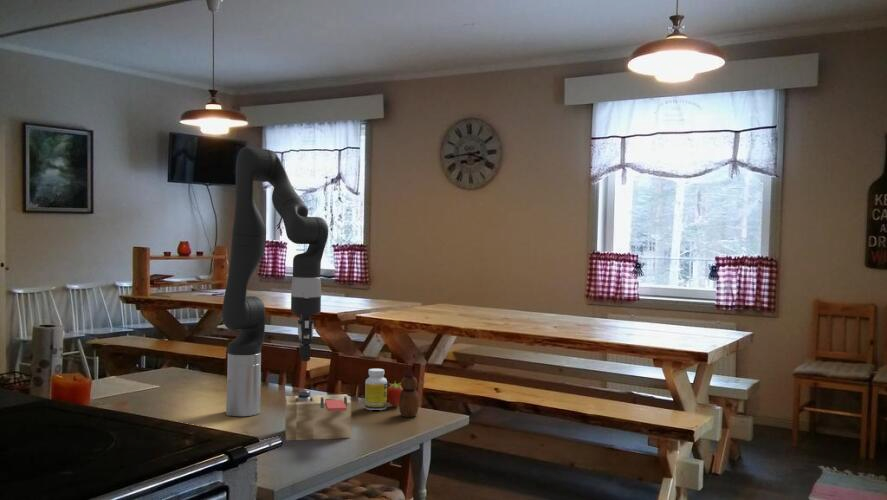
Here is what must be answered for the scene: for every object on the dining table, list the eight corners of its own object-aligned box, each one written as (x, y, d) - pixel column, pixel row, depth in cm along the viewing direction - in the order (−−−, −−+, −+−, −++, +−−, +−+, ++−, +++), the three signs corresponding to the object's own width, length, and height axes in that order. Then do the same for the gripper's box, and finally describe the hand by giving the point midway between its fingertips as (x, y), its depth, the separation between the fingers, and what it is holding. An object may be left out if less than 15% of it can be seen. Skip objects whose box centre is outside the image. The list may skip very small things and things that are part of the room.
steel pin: (297, 436, 193) (298, 392, 193) (297, 433, 196) (297, 390, 196) (310, 436, 194) (310, 392, 194) (309, 433, 197) (310, 389, 197)
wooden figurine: (398, 413, 221) (399, 361, 221) (418, 413, 222) (419, 361, 221) (398, 418, 215) (399, 365, 214) (419, 418, 215) (420, 365, 215)
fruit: (396, 409, 226) (396, 382, 226) (382, 407, 228) (382, 380, 228) (406, 406, 230) (407, 379, 230) (392, 403, 233) (393, 377, 233)
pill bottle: (383, 412, 222) (384, 372, 222) (362, 410, 223) (362, 371, 223) (389, 407, 229) (390, 368, 228) (368, 405, 230) (369, 367, 230)
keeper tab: (328, 411, 182) (328, 407, 182) (324, 402, 191) (324, 398, 191) (346, 411, 183) (346, 407, 183) (342, 402, 192) (342, 398, 192)
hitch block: (286, 442, 188) (287, 399, 188) (285, 430, 199) (285, 389, 199) (351, 439, 192) (352, 397, 192) (346, 427, 203) (347, 388, 203)
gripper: (290, 292, 201) (289, 353, 201) (292, 297, 187) (290, 362, 187) (319, 292, 202) (317, 353, 203) (322, 297, 189) (321, 362, 189)
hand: (304, 357), depth 195 cm, fingers open, 8 cm apart
